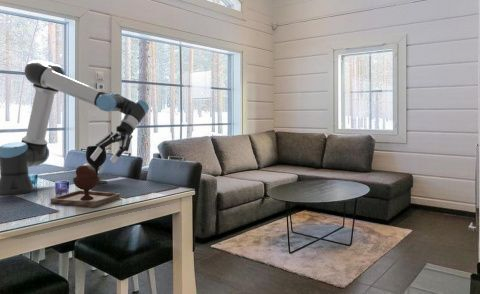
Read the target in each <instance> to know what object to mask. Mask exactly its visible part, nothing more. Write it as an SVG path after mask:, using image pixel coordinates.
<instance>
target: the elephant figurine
mask: <svg viewBox="0 0 480 294" xmlns="http://www.w3.org/2000/svg"><path fill="white" fill-rule="evenodd" d="M83 165H84V166H87V167H88V168H91V169H93V170H94V171H95V168H94V167H92V166H91V165H90V164H89V163H88V162H86V163H84V164H83ZM102 166H103V165H101V166H100V167H99V168H98V172H99V171H100V170H101V169H102Z"/></svg>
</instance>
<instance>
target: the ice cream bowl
mask: <svg viewBox="0 0 480 294" xmlns="http://www.w3.org/2000/svg"><path fill="white" fill-rule="evenodd" d="M75 174H76V176H75V177H73V178H72V182H73V184H74V186H75V187H77V189H79V190H84V192H85V195H84V196H83V197H81V199H80V200H92V199H93V197H92V196H90V195H89V191H91V190H92V189H94V188H95V187H96V186H98V185H99V184H98V182H99V180H100V176H99V175H98V176H97V173H96V171H95V170H93V169H91V168H88V167H87V166H84V164H82V165H80V166H78V167H76V169H75Z"/></svg>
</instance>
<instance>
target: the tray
mask: <svg viewBox="0 0 480 294" xmlns="http://www.w3.org/2000/svg"><path fill="white" fill-rule="evenodd" d="M84 195H85V192H84V190H82V189H79V190H75V191H72V192H69V193H65V194H62V195H61V194H60V195H58V196H54V197H51V198H50V204H51V205H61V206H71V207H81V208H91V209H95V208H99V207H101V206H103V205H105V204H108V203H112V202H114V201H117V200H120V199H121V193H119V192H118V193H117V192H107V191H105V192H104V191H94V190H89V195H90V196H92V197H93V199H92V200H80V199H81V197H83V196H84Z"/></svg>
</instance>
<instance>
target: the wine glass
mask: <svg viewBox="0 0 480 294" xmlns="http://www.w3.org/2000/svg"><path fill="white" fill-rule="evenodd" d="M96 148H97V146H96V145H89V146H87V148H86V152H85V158H86V161H87V163H89V164H90V165H91V166H92V167H94V168H95V170H94V171H95V172H96V173H97V176H99V174H98V173H99V171H98V168H99V167H101V166H103V164H104V163H105V162H106V159H107V151H106V150H107V149H106V147H105V148H103V149H102V150H103V151H102V152H101V153H100V155H99V156H98V157H97V159H96V160H95V161H93V160H92V159H91V158H90V157H91V155H92V154H93V153H94V151H95V150H96ZM107 182H108V181H107V180H102V179H99V182H98V184H97V185H103V184H106V183H107Z"/></svg>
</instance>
